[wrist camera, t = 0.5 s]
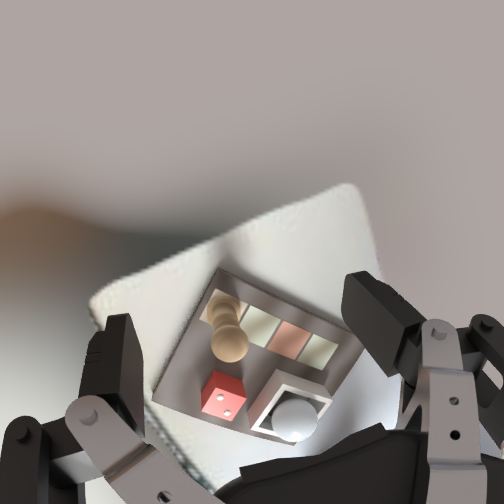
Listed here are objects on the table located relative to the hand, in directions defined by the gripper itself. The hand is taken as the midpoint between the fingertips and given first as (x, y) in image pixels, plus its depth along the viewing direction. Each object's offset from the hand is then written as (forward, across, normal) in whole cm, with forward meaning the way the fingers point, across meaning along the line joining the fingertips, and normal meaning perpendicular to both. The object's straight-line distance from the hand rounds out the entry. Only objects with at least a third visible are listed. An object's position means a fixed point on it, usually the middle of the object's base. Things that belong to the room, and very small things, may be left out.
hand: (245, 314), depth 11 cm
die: (+20, 0, -28) cm, 35 cm away
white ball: (+17, +9, -32) cm, 37 cm away
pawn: (+23, +2, -17) cm, 29 cm away
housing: (+18, +9, -32) cm, 38 cm away
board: (+22, +6, -28) cm, 36 cm away
